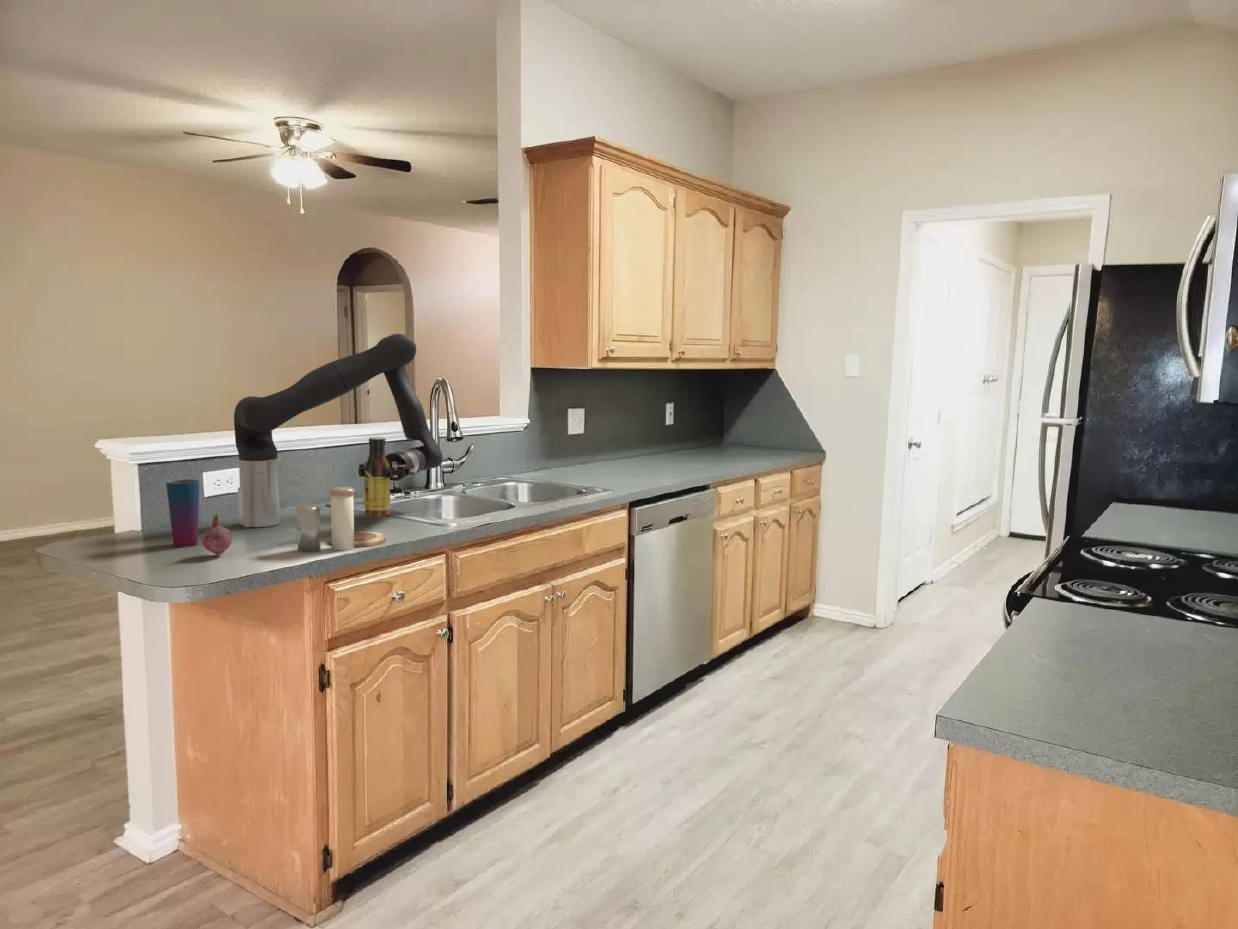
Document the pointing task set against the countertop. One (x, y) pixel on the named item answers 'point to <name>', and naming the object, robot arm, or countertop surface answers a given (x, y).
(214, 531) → the vegetable
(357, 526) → the countertop surface
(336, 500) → the cream jar
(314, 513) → the spice tin
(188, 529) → the cup
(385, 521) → the countertop surface
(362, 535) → the oak coaster
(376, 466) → the sauce bottle
